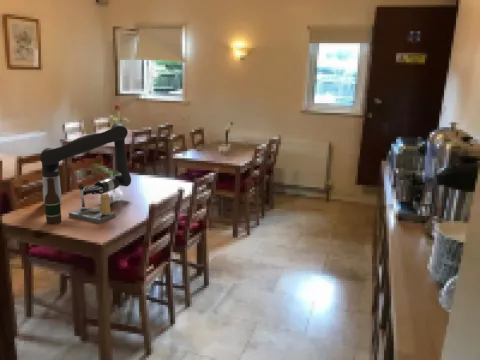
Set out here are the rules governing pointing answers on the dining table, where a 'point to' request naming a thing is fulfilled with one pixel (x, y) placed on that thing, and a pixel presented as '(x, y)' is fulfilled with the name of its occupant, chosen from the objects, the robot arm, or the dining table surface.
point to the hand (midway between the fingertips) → (82, 193)
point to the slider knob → (105, 204)
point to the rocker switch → (94, 209)
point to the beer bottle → (52, 204)
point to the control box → (91, 215)
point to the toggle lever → (81, 194)
